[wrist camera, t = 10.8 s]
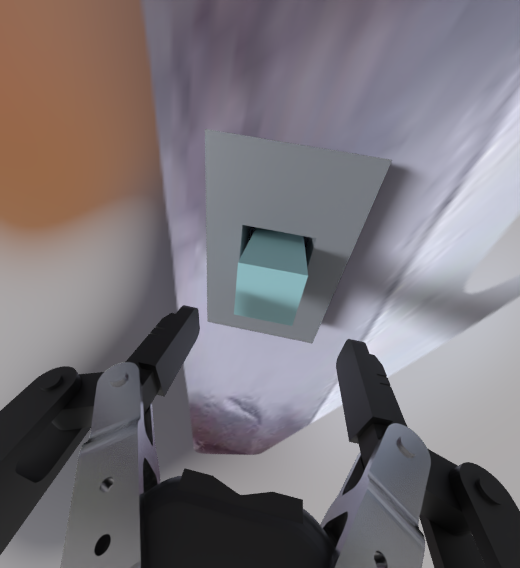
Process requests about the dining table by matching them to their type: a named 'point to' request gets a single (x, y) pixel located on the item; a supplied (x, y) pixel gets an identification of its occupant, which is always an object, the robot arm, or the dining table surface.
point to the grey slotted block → (283, 217)
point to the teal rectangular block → (271, 277)
